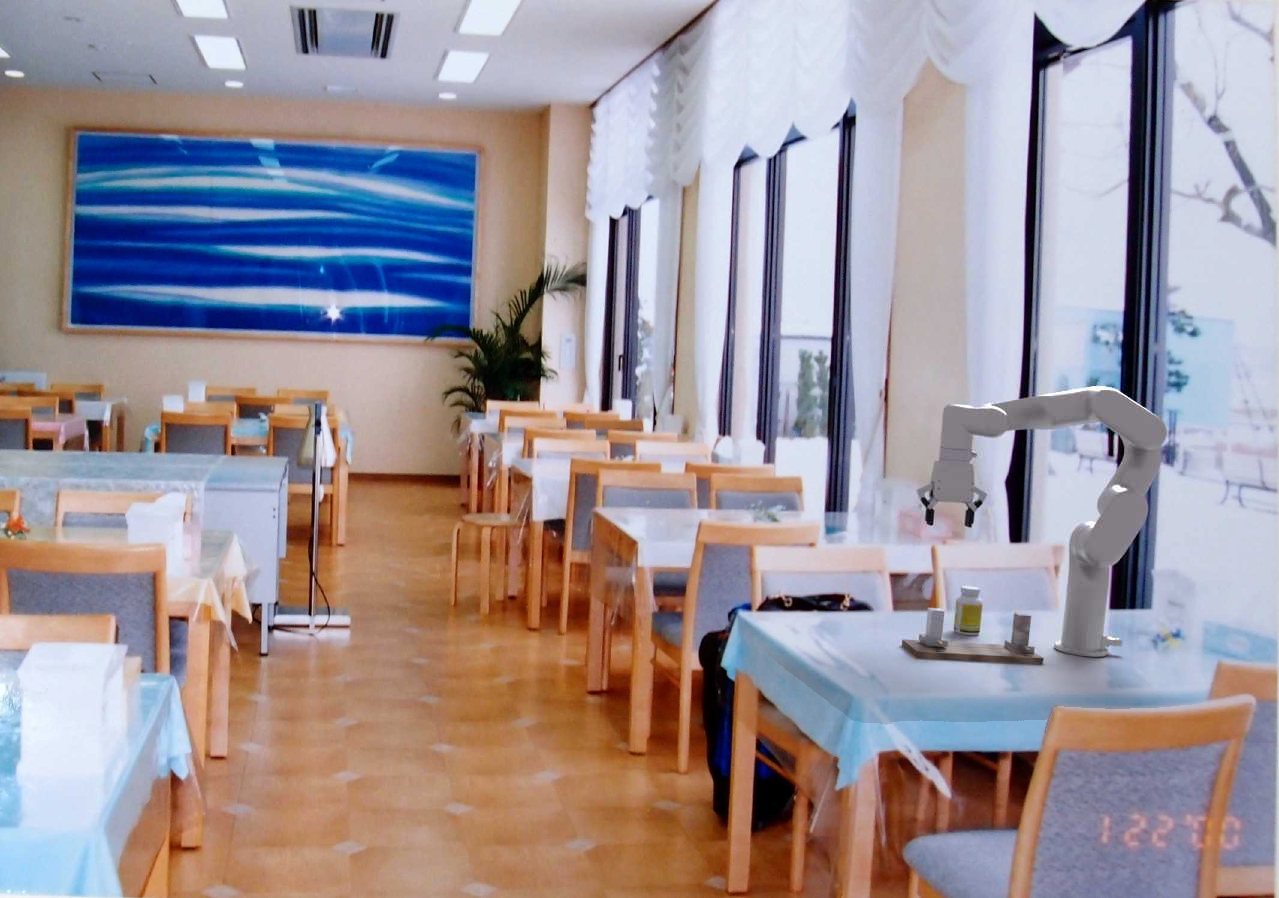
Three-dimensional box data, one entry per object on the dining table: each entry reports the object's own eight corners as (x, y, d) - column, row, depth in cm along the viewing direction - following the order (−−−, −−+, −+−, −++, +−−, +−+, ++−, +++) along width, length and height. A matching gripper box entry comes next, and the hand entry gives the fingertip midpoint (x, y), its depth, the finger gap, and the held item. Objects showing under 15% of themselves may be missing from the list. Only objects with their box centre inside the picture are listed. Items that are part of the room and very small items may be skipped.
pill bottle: (984, 636, 353) (988, 590, 352) (960, 635, 352) (965, 589, 351) (971, 630, 360) (976, 585, 358) (948, 629, 358) (952, 584, 357)
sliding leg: (939, 640, 335) (942, 607, 334) (951, 650, 326) (954, 615, 325) (918, 639, 334) (921, 606, 333) (930, 648, 325) (933, 614, 324)
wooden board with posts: (1023, 651, 339) (1027, 610, 338) (1042, 664, 327) (1047, 621, 326) (901, 645, 335) (905, 603, 334) (916, 657, 323) (920, 614, 323)
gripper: (983, 456, 347) (977, 525, 348) (915, 452, 344) (909, 521, 346) (995, 459, 339) (988, 529, 341) (925, 455, 337) (919, 526, 339)
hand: (948, 525), depth 343 cm, fingers open, 9 cm apart
